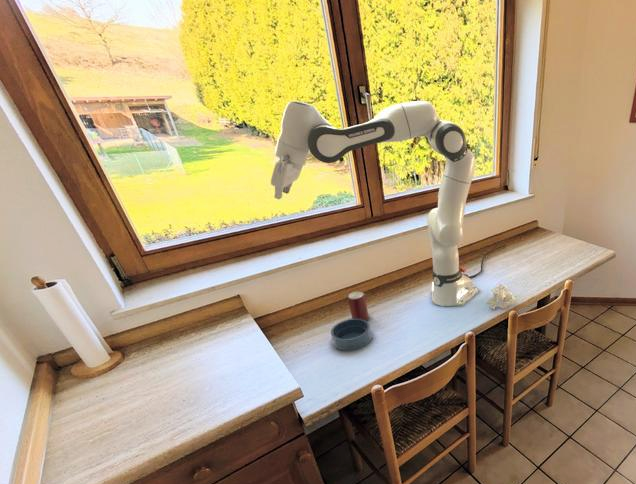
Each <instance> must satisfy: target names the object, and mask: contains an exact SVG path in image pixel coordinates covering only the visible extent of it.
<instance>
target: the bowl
mask: <svg viewBox="0 0 636 484" xmlns="http://www.w3.org/2000/svg"><path fill="white" fill-rule="evenodd" d="M330 336H331V340H332V344H333V346H334V348H335V349H337V350H339V351H342V352H352V351H357V350H360V349H362V348H365V347H366V346H367V345H368V344H370V342H371V340H372V338H373V337H372V336H373V335H372V329H371V325H370V323H369V321H366V320H363V319H356V318H354V319H352V318H348V319H344V320H341V321H339V322H337V323H336V324H335V325H333V327H332V328H331V330H330Z"/></svg>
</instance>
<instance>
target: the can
mask: <svg viewBox="0 0 636 484" xmlns="http://www.w3.org/2000/svg"><path fill="white" fill-rule="evenodd" d="M347 301H348V305H349V311H350V315H351V319H354V318H356V319H363V320H366V321H367V322H369V320H370V316H369V311H368V304H367V300H366V294H365V292H363V291H352V292H350V293H349V294H348V295H347Z"/></svg>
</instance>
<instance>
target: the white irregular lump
mask: <svg viewBox="0 0 636 484" xmlns="http://www.w3.org/2000/svg"><path fill="white" fill-rule="evenodd" d="M491 293H492V297H491V298H490V299H489V300H488V301H486V303H485V304H486V305H487V306H489V307H490V308H491V309H492V310H496V307H500V308H501V309H503V310H505V309H507V308H508V307H511V306H512V305H515V304H516V303H517V301H518V298H517V296H515V295H514V294H513V292H511V291H509V290H507V288H506V286H505V285H504V284H502V283H499V285H497V286H496V287H494V288H492V289H491Z"/></svg>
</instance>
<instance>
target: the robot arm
mask: <svg viewBox="0 0 636 484" xmlns="http://www.w3.org/2000/svg"><path fill="white" fill-rule="evenodd" d="M437 113H438V112H437V111H436V108H435V107H434V105H433V104H432V103H431V102H430V101H426V100H413V101H405V102H401V103H395V104H393V105H390V106H388V107H385V108H383V109H382V110H380V111H379V112H378V113H377V114H376V116H375V117H374V118H372V119H371V120H369V121H366V122H363V123H360V124H356V125H352V126H349V127H344V128H336V127H335V126H334V125H332V124H331V123H330V122H329V121H328V120H327V119H326V118H325V117H324V116H323V115H322V114H321V113H320V111H319V110H318V109H317V107H316V106H315V105H313V104H311V103H307V102H304V101H300V100H291V101H289V102H288V103H287V104H286V105H285V109H284V111H283V115H282V119H281V123H280V134H279V135H278V138H277V141H276V146H275V150H274V156H276V157H277V158H278V159H277V160H276V162H275V164H274V167H273V171H272V175H271V179H270V184H271V186H273V187H274V196H273V197H274V198H275V199H276V200H281V199H282V197H283V194H287V195H288V194H289V193H290V190H291V188H292V186H293V183H294V182H295V181H297V180H298V179H299V177H300V175H301V172H302V170H303V167H304V166H305V165H306V164H307V160H308V155H309V152H310V153H311V155H312V156H313V157H314V158H315V159H316V160H317V161H319V162H322V163H324V164H333V163H336V162H338V161H340V160H341V159H342V158H343V157H344V156H346V154H348V153H350V152H351V151H355V150H359V149H362V148H365V147H369V146H373V145H376V144H381V143H382V144H383V143H384V144H385V143H397V142H403V141H404V142H405V141H408V140H411V139H415V138H421V137H423V138H424V139H425V140H426V143H427V144H428V146H429V147H430V149H432V150H433V151H435V152H436V153H437V154H439V155H442V156H444V159H445V167H444V170H443V174H442V177H441V181H440V184H439V189H438V193H437V207H435V208H432V209H431V210H429V212H428V214H427V217H426V222H427V223H426V224H427V230H428V238H429V243H430V250H431V256H432V257H431V258H432V272H431V273H432V284H431V285H432V286H431V293H432V294H431V298H430V299H431V302H432V303H433V304H435V305H437V306H440V307H453V306H456V307H462V306H465V304H467V302H469V301H470V300H471V299H472V298H474V296H475V295H477V294H478V293H479V289H478V288H477V286H475V285H474V283H473V280H472V279H471V278H475V277H477V276H478V275H480V274H481V273H482V272H483V265H484V260H485V258H486V257H487V256H488V255H489V254H490V253H492V252H494V251H496V250H499V249H501V248H504V247H507V246H506V244H503V245H501V246H498V247H495V248H493V249H491V250H489V251H487V252H486V253H485V254H484V255H483V257H482V259H481V263H480V270H479V272H477V273H475V274H473V275H470V276H469V275H468V274H467V273H466V272H467V268H466V267H463V266H462V267H461V266H460V256H459V255H460V253H459V248H458V245H460V244H461V242H462V241H463V237H464V219H465V211H466V210H465V209H466V204H467V203H466V202H467V199H468V195H469V192H470V188H471V185H472V181H473V178H474V173H475V166H476V157H475V154H474V153H473V152H472V151H471V150H470V149H468V145H467V137H466V135H465V132H464V131H463V129H462V128H461V127H460V126H459V125H457V124H455V123H454V122H452V121H449V120H444V119H440V118H439V117H438V114H437Z"/></svg>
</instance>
